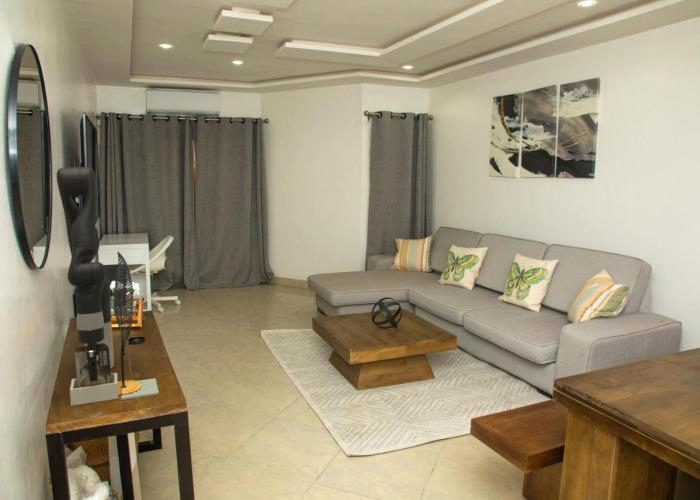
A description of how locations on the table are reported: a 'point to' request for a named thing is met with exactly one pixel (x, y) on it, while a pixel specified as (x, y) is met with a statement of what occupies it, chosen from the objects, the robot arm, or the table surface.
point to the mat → (144, 390)
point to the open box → (94, 392)
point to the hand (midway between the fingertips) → (94, 376)
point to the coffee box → (82, 365)
